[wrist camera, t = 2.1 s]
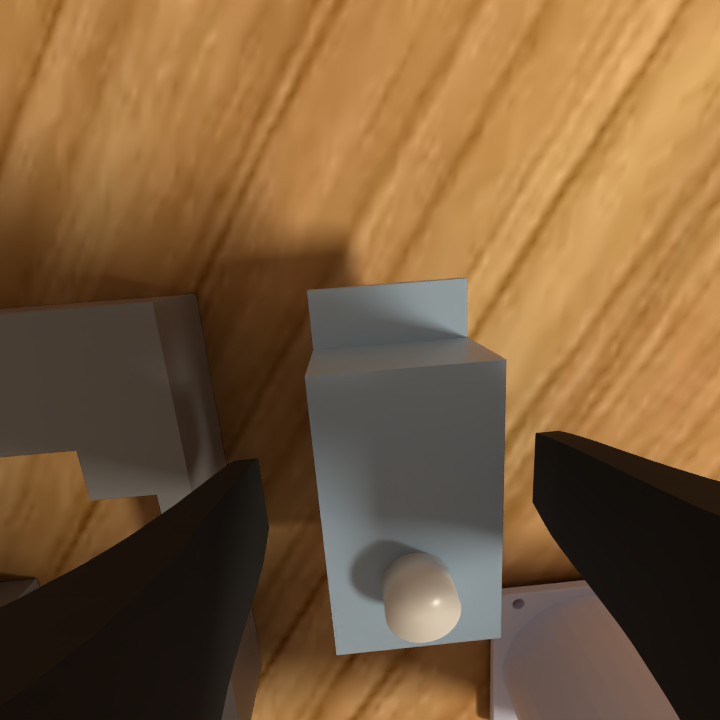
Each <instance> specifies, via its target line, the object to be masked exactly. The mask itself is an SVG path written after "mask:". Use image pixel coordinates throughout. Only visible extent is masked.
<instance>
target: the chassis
mask: <svg viewBox="0 0 720 720" xmlns="http://www.w3.org/2000/svg"><path fill="white" fill-rule="evenodd" d="M65 451H77V454H78V458H79V461H80V465H81V468H82V472H83V476H84V479H85V483H86V486H87V490H88V493H89V497H90V500H91V501H92V500H103V499H114V498H125V497H136V496H147V495H157V497H158V501H159V506H160V510H161V514H162V513H164V512H165V511H167V510H168V509H169V508H171V507H172V506H174V505H175V504H177V503H178V502H179V501H181V500H182V499H183V498H184V497H186V496H187V495H188V494H190V493H191V492H192V491H194V490H195V489H196V488H198V487H199V486H200V485H202V484H203V483H204V482H205V481H207V480H208V479H209V478H211V477H212V476H213V475H214V474H216V473H217V472H218V471H220V470H221V469H222V468H224V467H225V466H226V460H225V455H224V449H223V443H222V438H221V432H220V427H219V421H218V415H217V410H216V404H215V398H214V393H213V387H212V382H211V376H210V370H209V365H208V359H207V354H206V348H205V342H204V337H203V331H202V326H201V320H200V314H199V309H198V303H197V298H196V293H195V294H183V295H170V296H157V297H144V298H132V299H119V300H106V301H93V302H80V303H68V304H55V305H42V306H29V307H16V308H4V309H0V457H8V456H20V455H31V454H42V453H54V452H65ZM37 588H39V584H38V581H37V578H36V579H26V580H16V581H5V582H0V607H2V606H4V605H6V604H8V603H10V602H12V601H14V600H16V599H18V598H20V597H22V596H24V595H26V594H28V593H30V592H32V591H34V590H36V589H37ZM261 666H262V662H261V656H260V651H259V645H258V640H257V634H256V628H255V623H254V617H253V611H252V606H251V609H250V612H249V615H248V619H247V622H246V626H245V629H244V632H243V636H242V639H241V643H240V646H239V649H238V653H237V656H236V659H235V663H234V667H233V670H232V674H231V678H230V682H229V686H228V690H227V695H226V700H225V705H224V710H223V715H222V720H251V717H252V712H253V707H254V702H255V697H256V692H257V686H258V681H259V676H260V671H261Z"/></svg>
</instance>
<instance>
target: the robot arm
mask: <svg viewBox="0 0 720 720" xmlns="http://www.w3.org/2000/svg"><path fill="white" fill-rule="evenodd" d="M533 504H534V506H535V507H536V509H537V511H538V513H539V515H540V517H541V518H542V520H543V522H544V524H545V525H546V527H547V529H548V530H549V532H550V534H551V535H552V537H553V538H554V540H555V541H556V543H557V544H558V545H559V547H560V548H561V549H562V551H563V552H564V553H565V555H566V556H567V557H568V559H569V560H570V561H571V563H572V564H573V565H574V567H575V568H576V569H577V571H578V572H579V573H580V575H581V576H582V577H583V578H584V580H581V581H571V582H561V583H552V584H542V585H532V586H522V587H512V588H502V598H501V638H495V639H491V658H490V720H720V482H719V481H716V480H712V479H709V478H705V477H702V476H699V475H696V474H692V473H689V472H686V471H683V470H679V469H676V468H673V467H670V466H667V465H664V464H661V463H657V462H654V461H651V460H648V459H646V458H643V457H640V456H637V455H634V454H631V453H628V452H625V451H622V450H619V449H616V448H614V447H611V446H608V445H605V444H602V443H599V442H596V441H593V440H590V439H587V438H584V437H581V436H577V435H574V434H570V433H566V432H561V431H553V432H542V433H536V437H535V459H534V481H533ZM268 530H269V526H268V519H267V513H266V506H265V500H264V494H263V487H262V481H261V475H260V468H259V462H258V459H249V460H238V461H233V462H231V463H230V464H228V465H227V466H225V467H224V468H222V469H221V470H220V471H218V472H217V473H216V474H214V475H213V476H212V477H211V478H209V479H208V480H207V481H205V482H204V483H203V484H202V485H200V486H199V487H198V488H196V489H195V490H194V491H192V492H191V493H190V494H188V495H187V496H186V497H184V498H183V499H182V500H181V501H179V502H178V503H177V504H175V505H174V506H172V507H171V508H169V509H168V510H167V511H165V512H164V513H162V514H161V515H160V516H158V517H157V518H155V519H154V520H152V521H151V522H150V523H148V524H147V525H145V526H144V527H142V528H141V529H140V530H138V531H137V532H135V533H134V534H132V535H131V536H129V537H128V538H126V539H124V540H123V541H121V542H120V543H118V544H116V545H115V546H113V547H112V548H110V549H108V550H106V551H105V552H103V553H101V554H100V555H98V556H96V557H95V558H93V559H91V560H90V561H88V562H86V563H84V564H83V565H81V566H79V567H77V568H76V569H74V570H72V571H70V572H68V573H66V574H64V575H62V576H60V577H58V578H57V579H55V580H53V581H51V582H49V583H47V584H45V585H43V586H41V587H39V588H37V589H36V590H34V591H32V592H30V593H28V594H26V595H24V596H22V597H20V598H18V599H16V600H14V601H12V602H10V603H8V604H6V605H4V606H2V607H0V720H222V715H223V710H224V705H225V700H226V695H227V690H228V686H229V682H230V678H231V674H232V670H233V667H234V663H235V659H236V656H237V653H238V649H239V646H240V643H241V639H242V636H243V632H244V629H245V626H246V622H247V619H248V615H249V612H250V609H251V605H252V602H253V598H254V595H255V592H256V588H257V585H258V581H259V578H260V574H261V570H262V567H263V562H264V556H265V550H266V543H267V537H268ZM517 599H518V600H517ZM515 600H516V601H515Z"/></svg>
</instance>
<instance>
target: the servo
mask: <svg viewBox="0 0 720 720" xmlns="http://www.w3.org/2000/svg"><path fill="white" fill-rule="evenodd" d="M307 297H308V306H309V315H310V325H311V334H312V343H313V352H312V355H311V359H310V362H309V365H308V368H307V371H306V374H305V385H306V394H307V403H308V411H309V420H310V429H311V437H312V446H313V455H314V463H315V472H316V481H317V489H318V498H319V507H320V516H321V524H322V533H323V542H324V550H325V559H326V568H327V576H328V585H329V594H330V602H331V611H332V620H333V628H334V637H335V646H336V655H344V654H354V653H363V652H372V651H382V650H391V649H401V648H410V647H420V646H429V645H438V644H448V643H457V642H467V641H476V640H486V639H495V638H501V598H502V549H503V500H504V451H505V401H506V359H504V358H503V357H501V356H499V355H497V354H496V353H494V352H492V351H490V350H489V349H487V348H485V347H484V346H482V345H480V344H478V343H477V342H475V341H473V340H471V339H470V338H468V337H467V278H451V279H438V280H425V281H413V282H400V283H387V284H374V285H362V286H349V287H336V288H324V289H311V290H307Z"/></svg>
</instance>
